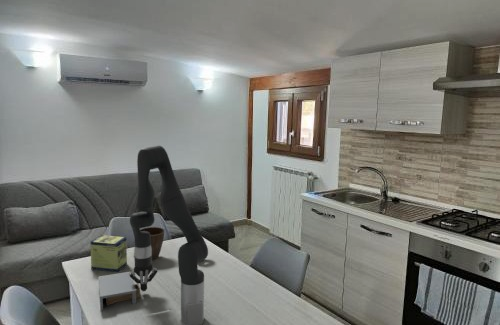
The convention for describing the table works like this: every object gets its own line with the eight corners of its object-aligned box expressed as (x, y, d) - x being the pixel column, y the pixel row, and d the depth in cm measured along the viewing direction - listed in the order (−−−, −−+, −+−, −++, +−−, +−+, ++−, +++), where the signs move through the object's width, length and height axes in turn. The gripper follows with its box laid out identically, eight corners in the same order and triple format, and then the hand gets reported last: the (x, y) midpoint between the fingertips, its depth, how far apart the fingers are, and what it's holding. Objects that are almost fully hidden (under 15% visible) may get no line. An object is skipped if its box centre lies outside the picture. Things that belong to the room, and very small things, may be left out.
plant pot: (138, 253, 209) (137, 227, 207) (163, 251, 214) (163, 226, 211) (138, 264, 195) (137, 236, 193) (165, 261, 199) (165, 234, 197)
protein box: (117, 272, 185) (117, 243, 183) (90, 269, 187) (89, 241, 185) (127, 263, 195) (127, 237, 193) (101, 261, 197) (100, 234, 195)
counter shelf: (136, 304, 154) (135, 290, 153) (100, 311, 148) (99, 296, 147) (131, 284, 172) (130, 271, 171) (99, 289, 166) (98, 276, 165)
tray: (140, 298, 159) (139, 289, 158) (106, 304, 153) (106, 294, 153) (138, 292, 164) (138, 283, 163) (106, 298, 158) (106, 289, 158)
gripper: (128, 260, 154) (129, 297, 156) (159, 255, 159) (159, 291, 161) (126, 253, 160) (128, 289, 163) (156, 249, 166) (157, 284, 168)
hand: (143, 290), depth 162 cm, fingers closed
